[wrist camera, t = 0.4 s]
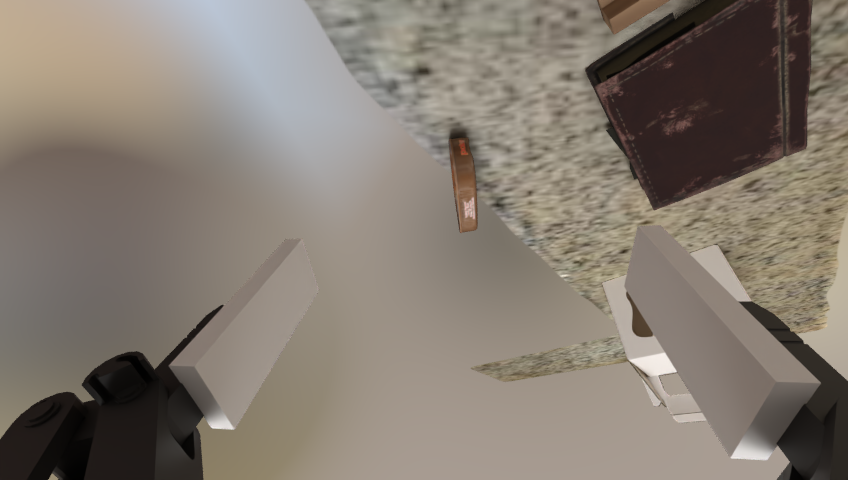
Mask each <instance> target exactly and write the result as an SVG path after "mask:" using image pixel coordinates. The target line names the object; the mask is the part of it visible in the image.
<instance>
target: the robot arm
mask: <svg viewBox="0 0 848 480" xmlns="http://www.w3.org/2000/svg"><path fill="white" fill-rule="evenodd" d="M624 287H625V289H626V290H627V292H628V294H629V295H630V297H631V298H632V300H633V302H634V303H635V305H636V306H637V308H638V310H639V311H640V313H641V315H642V316H643V318H644V319H645V321H646V323H647V324H648V326H649V327H650V329H651V331H652V332H653V334H654V336H655V337H656V339H657V340H658V342H659V344H660V345H661V347H662V349H663V350H664V352H665V353H666V355H667V357H668V358H669V360H670V361H671V363H672V365H673V366H674V368H675V370H676V371H677V373H678V374H679V376H680V378H681V379H682V381H683V382H684V384H685V386H686V387H687V389H688V391H689V392H690V394H691V395H692V397H693V399H694V400H695V402H696V403H697V405H698V407H699V408H700V410H701V412H702V413H703V415H704V416H705V418H706V420H707V421H708V423H709V425H710V426H711V428H712V429H713V431H714V433H715V434H716V436H717V437H718V439H719V441H720V442H721V444H722V446H723V447H724V449H725V450H726V452H727V454H728V455H729V457H730V458H737V459H753V460H767V459H768V458H769V456H770V455H771V454H772V452H773V451H774V450H775V448H776V447H777V445H778V446H779V448H780V449H781V450H782V452H783V453H784V454H785V456H786V457H787V458H788V460H789V461H790V463H789V464H788V465H787V467H786V468H785V470H784V471H783V472H782V473H781V475H780V476H779V477H778V479H777V480H848V381H847V380H846V379H845V378H844V377H843V376H841V375H840V374H839V373H838V372H837V371H836V370H835V369H833V367H832V366H831V365H829V364H828V363H827V362H826V361H825V360H824V359H823V358H822V357H821V356H819V355H818V354H817V353H816V352H815V351H814V350H813V349H812V348H810V347H809V345H807V344H804V343H803V340H802V339H801V338H800V337H799V336H797V335H796V334H795V333H794V332H791V331H790V328H789V327H788V326H786V325H785V324H784V323H783V322H782V321H781V320H780V319H779V318H778V317H777V316H775V315H774V314H773V313H771V312H769V311H768V310H766V309H764V308H762V307H761V306H759V305H757V304H755V303H754V302H752V301H737V300H736V299H735V298H734V297H733V296H732V295H731V294H730V293H729V292H728V291H727V290H726V289H725V288H724V287H723V286H722V285H721V284H720V283H719V282H718V281H717V280H716V279H715V278H714V277H713V276H712V275H711V274H710V273H709V272H708V271H707V270H706V269H705V268H704V267H703V266H702V265H700V264H699V263H698V262H697V261H696V260H695V259H694V258H693V257H692V256H691V255H690V254H689V253H688V252H687V251H686V250H685V249H684V248H683V247H682V246H681V245H680V244H679V243H678V242H677V241H676V240H675V239H674V238H673V237H672V236H671V235H670V234H669V233H668V232H667V231H666V230H665V229H664V228H663V227H662V226H661V225H656V226H638V227H637V231H636V236H635V240H634V245H633V249H632V254H631V258H630V262H629V267H628V271H627V276H626V280H625V285H624ZM318 291H319V288H318V285H317V282H316V279H315V276H314V273H313V270H312V267H311V263H310V260H309V257H308V254H307V251H306V248H305V245H304V242H303V239H286V240H284V242H283V243H282V244H281V245H280V246H279V247H278V248H277V249H276V250H275V251H274V252H273V254H272V255H271V256H270V257H269V258H268V259H267V260H266V261H265V262H264V263H263V264H262V265H261V266H260V268H259V269H258V270H257V271H256V272H255V273H254V274H253V275H252V276H251V277H250V278H249V280H248V281H247V282H246V283H245V284H244V285H243V286H242V287H241V288H240V289H239V290H238V291H237V292H236V294H235V295H234V296H233V297H232V298H231V299H230V300H229V301H228V302H227V303H226V304H225V305H221V306H219V307H218V308H217V309H215V310H213V311H212V312H211V313H209V314H208V315H206V317H205V318H204V319H203V320H202V321H201V322H200V323H199V324H198V325H197V326H196V329H193V330H192V331H191V332H190V333H189V334H188V335H187V338H185V339H183V341H182V342H181V343H180V344H179V345H178V346H177V347H176V348H175V349H174V350H173V351H172V352H171V353H170V354H169V355H168V356H167V357H166V358H165V359H164V360H163V361H162V362H161V363H160V364H159V366H158V367H157V368H156V369H155V370H154V368H153V367H152V366H151V364H150V363H149V361H148V360H147V359H146V357H145V356H144V355H143V354H142V353H140V352H137V351H136V352H127V353H124V354H121V355H117V356H115V357H113V358H111V359H109V360H108V361H105V362H104V363H102V364H101V365H100V366H98V367H97V368H95V369H94V370H93V371H92V372H91V373H90V374H89V375H88V376H87V377H86V378H85V380H84V382H83V383H82V386H83V387H84V388H85V389H86V390H87V392H88V393H89V394H90V395H91V396H92V397H93V398H94V399H95V400H92V401H88V402H84V403H83V402H82V401H81V400H80V399H79V398H78V397H77V396H76V395H75V394H74V393H71V392H63V393H58V394H55V395H53V396H50V397H48V398H45V399H43V400H41V401H39V402H37V403H36V404H34V405H32V406H31V407H30V408H29V409H28V410H26V411H25V412H24V413H22V414H21V415H20V416H19V417H18V418H17V419H16V420H15V421H14V423H12V425H11V426H10V427H9V428H8V430H7V431H6V432H5V434H4V435H3V437H2V438H1V439H0V480H48V479H49V477H50V475H51V474H52V473H53V474H54V475H55V476H56V477H57V478H59V479H58V480H203V467H202V455H201V440H200V433H199V431H198V429H197V428H196V426H197V424H198V423H199V422H200V420H201V419H202V418H203V416H204V418H205V419H206V421H207V422H208V423H209V425H210V426H211V428H215V429H235V428H236V427H237V425H238V423H239V422H240V420H241V418H242V417H243V415H244V413H245V412H246V410H247V408H248V407H249V405H250V403H251V402H252V400H253V398H254V397H255V395H256V394H257V392H258V390H259V389H260V387H261V385H262V384H263V382H264V380H265V379H266V377H267V375H268V374H269V372H270V370H271V369H272V367H273V365H274V364H275V362H276V360H277V359H278V357H279V356H280V354H281V352H282V350H283V349H284V347H285V345H286V344H287V342H288V341H289V339H290V337H291V336H292V334H293V332H294V331H295V329H296V327H297V326H298V324H299V322H300V321H301V319H302V317H303V316H304V314H305V313H306V311H307V309H308V308H309V306H310V304H311V303H312V301H313V299H314V298H315V296H316V294H317V292H318Z"/></svg>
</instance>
